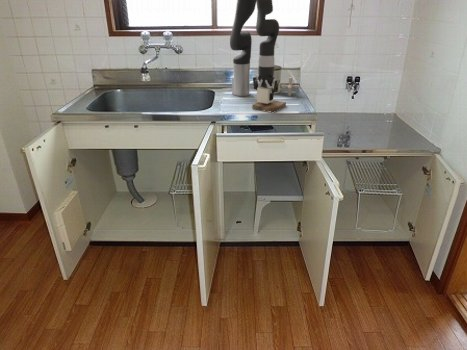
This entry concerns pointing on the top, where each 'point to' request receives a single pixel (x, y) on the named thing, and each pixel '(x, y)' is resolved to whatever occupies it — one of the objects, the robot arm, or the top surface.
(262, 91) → the cream rectangular block
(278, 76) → the coffee can
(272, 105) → the board
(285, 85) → the pipe connector
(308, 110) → the top surface
